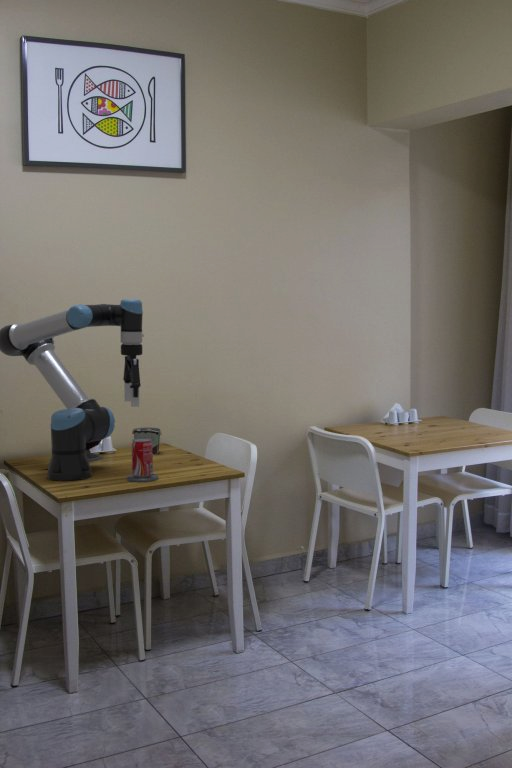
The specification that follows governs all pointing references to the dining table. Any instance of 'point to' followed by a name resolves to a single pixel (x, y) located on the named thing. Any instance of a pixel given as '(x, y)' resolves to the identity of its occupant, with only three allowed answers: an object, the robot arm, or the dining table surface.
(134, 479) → the slate coaster
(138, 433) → the food container
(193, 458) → the dining table surface
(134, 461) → the soda can
